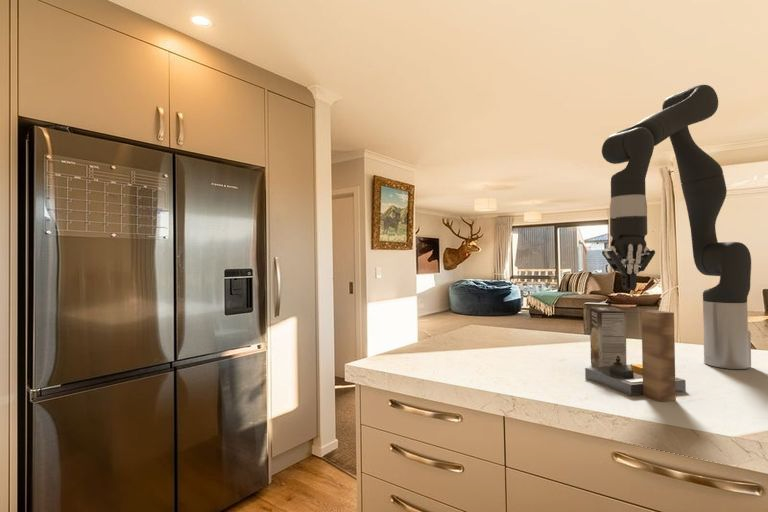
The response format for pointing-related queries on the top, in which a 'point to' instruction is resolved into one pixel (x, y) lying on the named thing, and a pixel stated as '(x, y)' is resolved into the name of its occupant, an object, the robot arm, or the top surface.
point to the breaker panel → (624, 378)
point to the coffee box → (607, 336)
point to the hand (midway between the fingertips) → (629, 290)
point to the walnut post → (658, 355)
